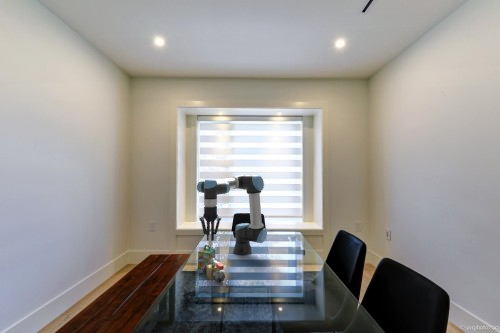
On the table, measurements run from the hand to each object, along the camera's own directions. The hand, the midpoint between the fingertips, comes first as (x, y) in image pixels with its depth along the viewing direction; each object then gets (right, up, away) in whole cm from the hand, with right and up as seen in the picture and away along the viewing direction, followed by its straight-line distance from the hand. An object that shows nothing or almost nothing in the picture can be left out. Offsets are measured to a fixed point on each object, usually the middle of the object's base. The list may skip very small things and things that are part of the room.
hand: (210, 246), depth 130 cm
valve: (0, -23, +10) cm, 26 cm away
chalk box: (-7, -24, +25) cm, 35 cm away
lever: (+3, -14, +6) cm, 16 cm away
